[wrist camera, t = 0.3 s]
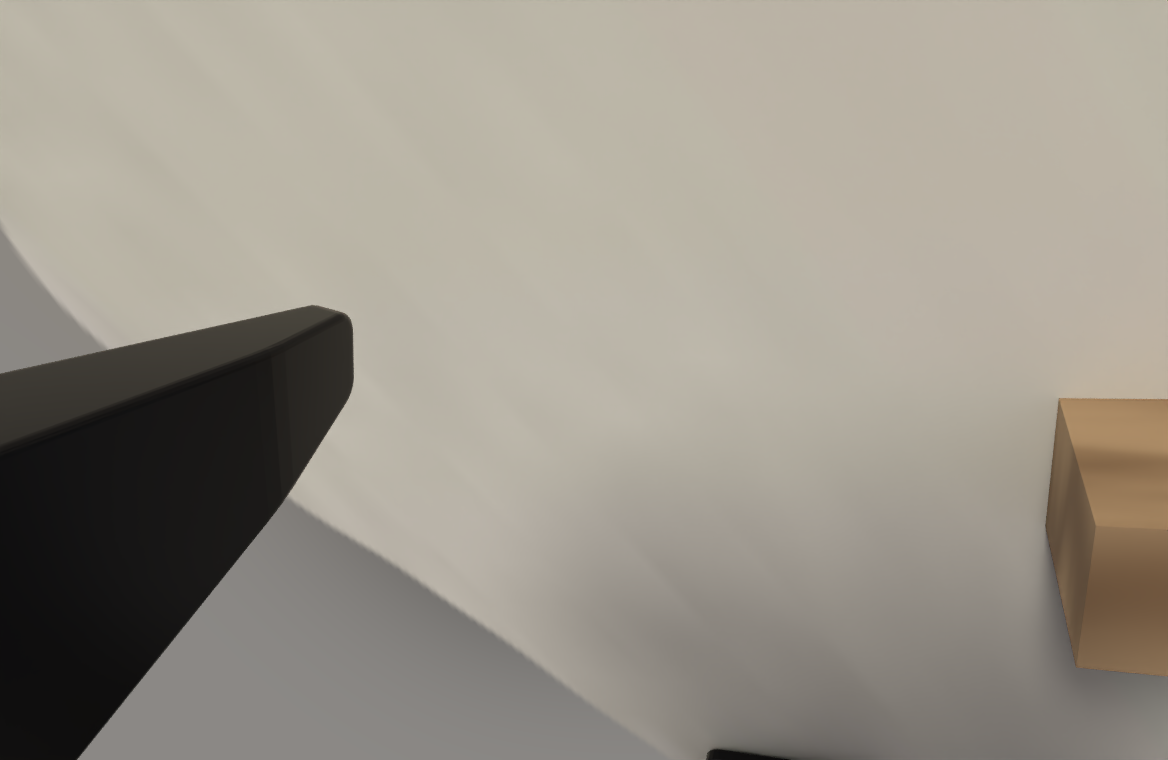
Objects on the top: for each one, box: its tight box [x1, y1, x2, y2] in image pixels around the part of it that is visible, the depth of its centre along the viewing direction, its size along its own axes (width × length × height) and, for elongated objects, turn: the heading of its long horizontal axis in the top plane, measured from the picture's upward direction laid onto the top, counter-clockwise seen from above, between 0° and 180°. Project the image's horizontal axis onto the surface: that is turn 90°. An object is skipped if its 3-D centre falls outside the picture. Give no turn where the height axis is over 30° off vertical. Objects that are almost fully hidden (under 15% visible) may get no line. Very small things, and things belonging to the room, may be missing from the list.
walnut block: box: [1045, 398, 1168, 676], centre depth 20 cm, size 4×4×5 cm
